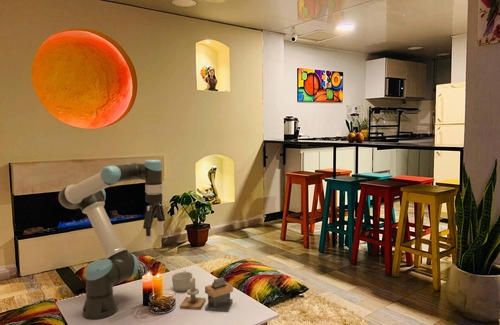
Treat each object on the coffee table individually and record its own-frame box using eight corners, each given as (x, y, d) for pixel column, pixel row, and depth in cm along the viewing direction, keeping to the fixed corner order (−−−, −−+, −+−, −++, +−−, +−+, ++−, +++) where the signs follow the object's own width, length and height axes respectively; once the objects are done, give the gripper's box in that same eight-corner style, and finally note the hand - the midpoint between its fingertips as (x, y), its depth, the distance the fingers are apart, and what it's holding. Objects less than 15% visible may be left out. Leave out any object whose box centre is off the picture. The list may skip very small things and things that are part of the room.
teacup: (188, 294, 200) (188, 279, 200) (168, 292, 203) (168, 277, 202) (197, 283, 214) (197, 269, 213) (178, 282, 216) (178, 268, 216)
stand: (179, 308, 184) (179, 282, 183) (186, 299, 194) (185, 274, 193) (200, 309, 182) (199, 283, 181) (205, 300, 192) (205, 275, 191)
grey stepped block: (205, 310, 182) (204, 282, 181) (210, 300, 192) (210, 274, 191) (228, 312, 180) (227, 283, 179) (232, 301, 191) (232, 275, 190)
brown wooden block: (213, 297, 179) (213, 291, 179) (205, 292, 185) (204, 286, 185) (233, 291, 186) (232, 285, 186) (224, 286, 192) (224, 281, 192)
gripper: (151, 198, 164) (152, 246, 166) (171, 189, 189) (171, 232, 191) (134, 197, 165) (135, 246, 167) (156, 189, 190) (157, 231, 192)
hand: (155, 238), depth 179 cm, fingers open, 13 cm apart
